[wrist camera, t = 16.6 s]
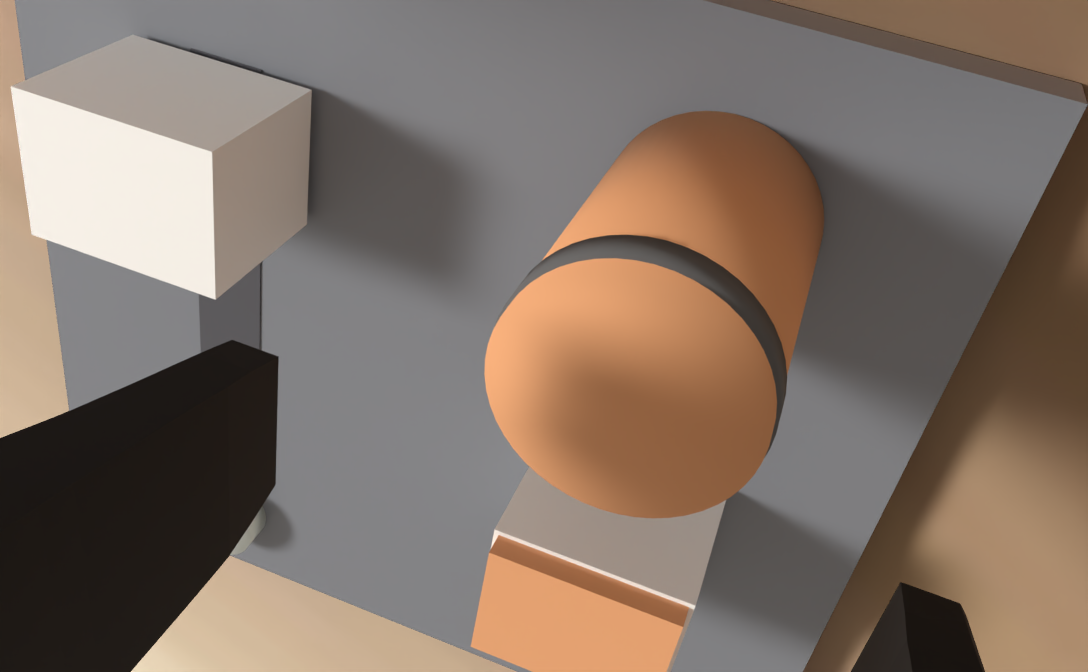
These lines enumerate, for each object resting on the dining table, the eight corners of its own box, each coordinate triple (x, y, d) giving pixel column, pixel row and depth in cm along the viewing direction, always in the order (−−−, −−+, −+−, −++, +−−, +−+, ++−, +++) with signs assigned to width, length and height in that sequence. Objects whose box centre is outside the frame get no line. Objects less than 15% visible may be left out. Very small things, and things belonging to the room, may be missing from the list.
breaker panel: (28, -198, 20) (-45, -189, 19) (1081, 83, 16) (1093, 122, 15) (103, 473, 30) (60, 513, 29) (760, 735, 27) (749, 795, 25)
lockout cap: (562, 232, 20) (434, 406, 15) (680, 61, 17) (571, 203, 13) (736, 354, 20) (664, 566, 15) (877, 200, 17) (844, 396, 13)
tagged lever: (549, 429, 22) (485, 547, 19) (727, 492, 22) (689, 625, 18) (528, 525, 24) (465, 647, 21) (692, 587, 23) (652, 723, 20)
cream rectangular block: (132, 35, 21) (10, 86, 18) (311, 89, 20) (212, 152, 17) (142, 169, 22) (31, 234, 20) (307, 224, 22) (215, 300, 19)
